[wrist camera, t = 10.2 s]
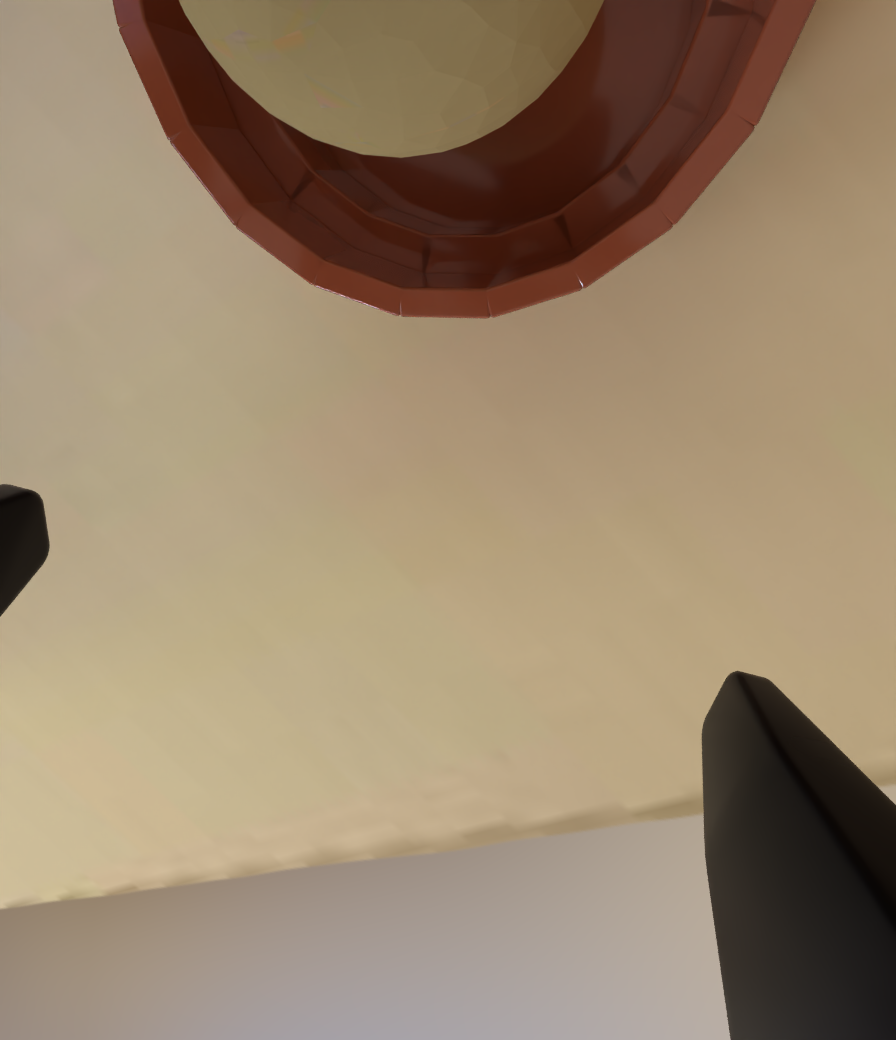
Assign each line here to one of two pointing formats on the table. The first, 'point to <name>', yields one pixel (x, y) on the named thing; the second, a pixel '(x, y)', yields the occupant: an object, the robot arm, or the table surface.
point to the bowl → (484, 159)
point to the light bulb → (393, 64)
